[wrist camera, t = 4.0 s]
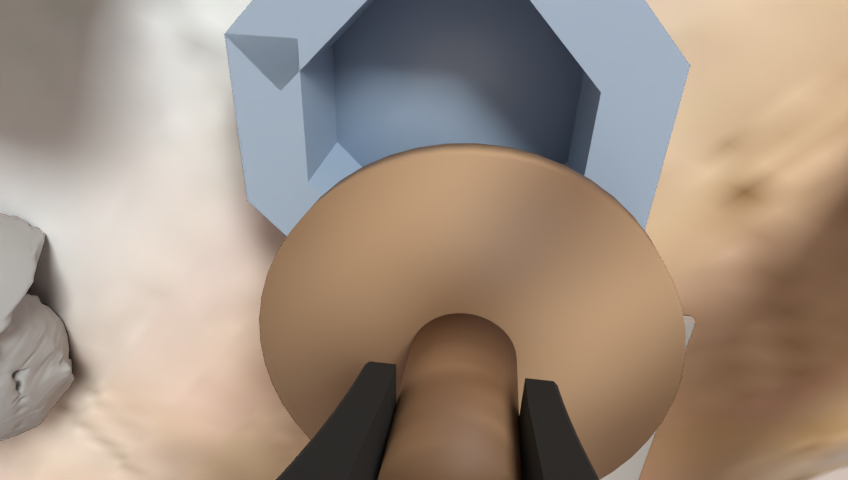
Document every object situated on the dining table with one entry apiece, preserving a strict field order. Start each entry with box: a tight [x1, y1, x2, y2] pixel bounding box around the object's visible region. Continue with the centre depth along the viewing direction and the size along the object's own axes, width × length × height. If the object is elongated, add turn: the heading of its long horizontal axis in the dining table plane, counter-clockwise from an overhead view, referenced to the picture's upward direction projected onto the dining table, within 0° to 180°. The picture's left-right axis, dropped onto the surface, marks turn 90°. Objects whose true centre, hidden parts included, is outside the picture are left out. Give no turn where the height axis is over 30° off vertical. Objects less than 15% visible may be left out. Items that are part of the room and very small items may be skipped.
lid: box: [259, 143, 686, 480], centre depth 13 cm, size 11×11×6 cm
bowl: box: [224, 0, 690, 236], centre depth 17 cm, size 12×12×4 cm
